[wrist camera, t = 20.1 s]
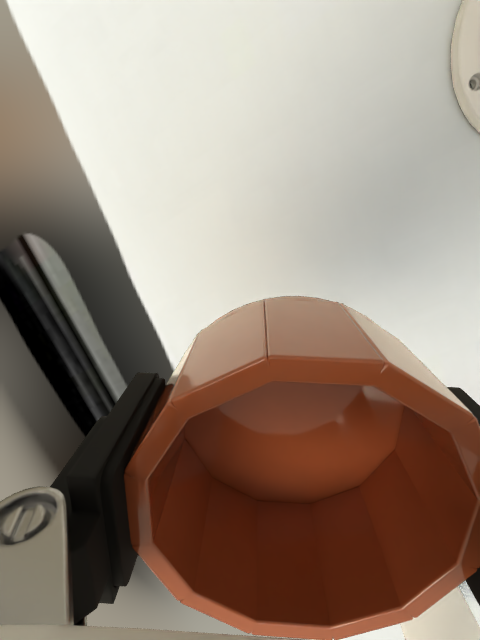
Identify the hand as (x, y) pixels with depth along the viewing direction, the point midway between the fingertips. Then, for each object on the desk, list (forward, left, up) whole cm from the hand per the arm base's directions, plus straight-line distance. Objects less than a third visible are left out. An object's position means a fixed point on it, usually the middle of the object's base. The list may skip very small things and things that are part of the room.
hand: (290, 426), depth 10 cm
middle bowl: (0, 0, -2) cm, 2 cm away
